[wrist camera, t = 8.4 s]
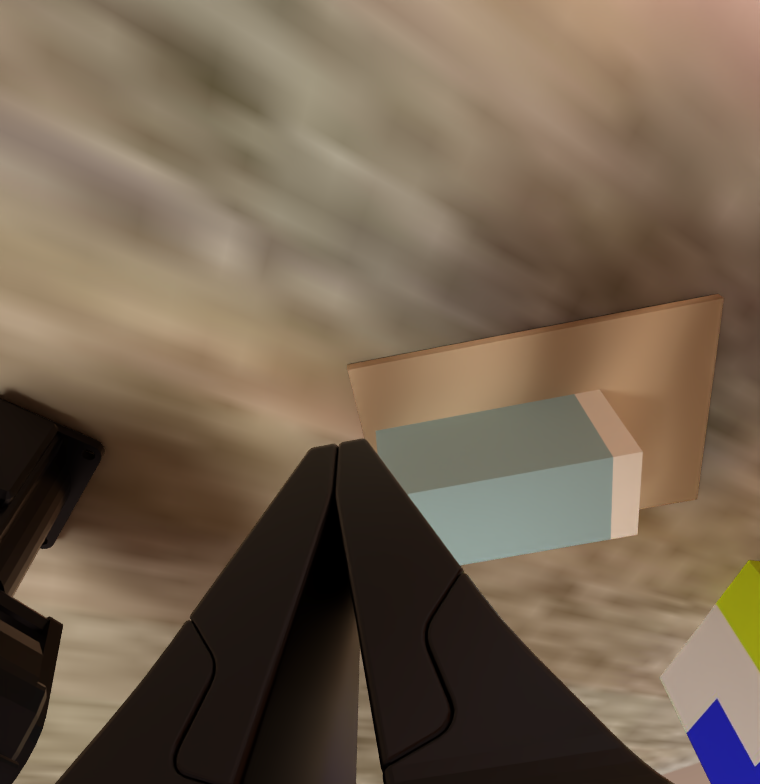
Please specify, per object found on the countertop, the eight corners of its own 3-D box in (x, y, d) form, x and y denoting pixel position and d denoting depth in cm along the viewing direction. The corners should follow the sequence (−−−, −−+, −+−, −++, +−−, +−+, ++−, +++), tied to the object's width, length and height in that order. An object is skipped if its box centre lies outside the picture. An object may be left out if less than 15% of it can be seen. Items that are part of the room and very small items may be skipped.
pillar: (637, 534, 23) (400, 575, 23) (598, 466, 26) (392, 503, 26) (642, 451, 20) (381, 498, 21) (599, 389, 24) (375, 430, 24)
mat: (718, 293, 22) (723, 298, 22) (692, 493, 28) (697, 499, 27) (347, 364, 23) (347, 369, 23) (392, 546, 28) (392, 552, 28)
